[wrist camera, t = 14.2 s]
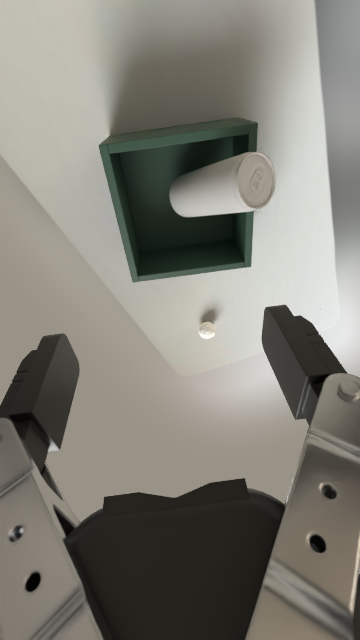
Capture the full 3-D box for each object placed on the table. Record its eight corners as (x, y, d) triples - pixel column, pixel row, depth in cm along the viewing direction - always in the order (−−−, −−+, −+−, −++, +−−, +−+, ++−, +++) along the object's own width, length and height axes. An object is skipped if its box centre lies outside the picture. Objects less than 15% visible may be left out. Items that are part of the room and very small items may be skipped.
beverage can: (160, 204, 33) (227, 191, 23) (176, 165, 33) (251, 136, 23) (191, 224, 36) (262, 221, 26) (206, 189, 36) (283, 172, 26)
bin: (136, 254, 41) (132, 282, 35) (109, 135, 32) (98, 145, 26) (236, 241, 41) (251, 266, 35) (238, 117, 32) (257, 122, 26)
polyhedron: (215, 318, 49) (218, 329, 47) (211, 331, 51) (214, 343, 49) (199, 317, 49) (201, 328, 47) (196, 330, 51) (198, 341, 48)
